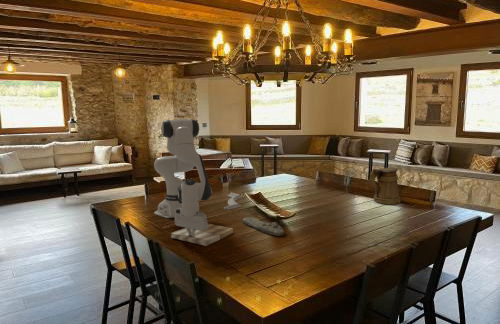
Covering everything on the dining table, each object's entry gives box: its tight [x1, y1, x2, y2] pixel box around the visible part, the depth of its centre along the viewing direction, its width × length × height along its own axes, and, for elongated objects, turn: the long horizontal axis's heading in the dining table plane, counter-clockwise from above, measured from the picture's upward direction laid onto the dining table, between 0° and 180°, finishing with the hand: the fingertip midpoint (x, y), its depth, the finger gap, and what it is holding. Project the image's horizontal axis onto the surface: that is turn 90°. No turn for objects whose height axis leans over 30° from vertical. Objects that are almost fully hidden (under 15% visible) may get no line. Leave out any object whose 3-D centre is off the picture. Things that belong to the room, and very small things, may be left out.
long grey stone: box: [241, 216, 285, 237], centre depth 225 cm, size 35×5×10 cm
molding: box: [223, 192, 243, 211], centre depth 285 cm, size 42×12×3 cm, turn 179°
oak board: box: [199, 223, 234, 240], centre depth 219 cm, size 24×12×3 cm, turn 58°
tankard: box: [369, 167, 402, 206], centre depth 279 cm, size 18×24×25 cm
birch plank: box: [170, 227, 221, 247], centre depth 209 cm, size 24×12×2 cm, turn 58°
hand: (191, 235), depth 205 cm, fingers closed, pressing on birch plank
